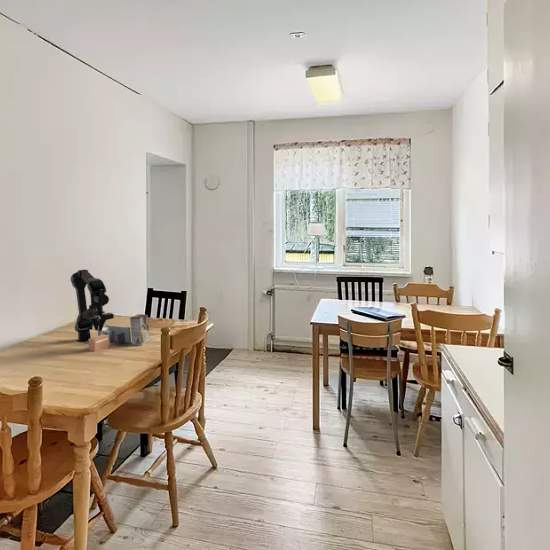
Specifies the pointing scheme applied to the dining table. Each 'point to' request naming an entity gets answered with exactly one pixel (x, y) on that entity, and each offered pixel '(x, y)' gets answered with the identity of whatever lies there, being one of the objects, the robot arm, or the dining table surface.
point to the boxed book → (98, 342)
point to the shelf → (115, 332)
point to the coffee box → (139, 329)
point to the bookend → (121, 339)
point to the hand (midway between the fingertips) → (98, 330)
